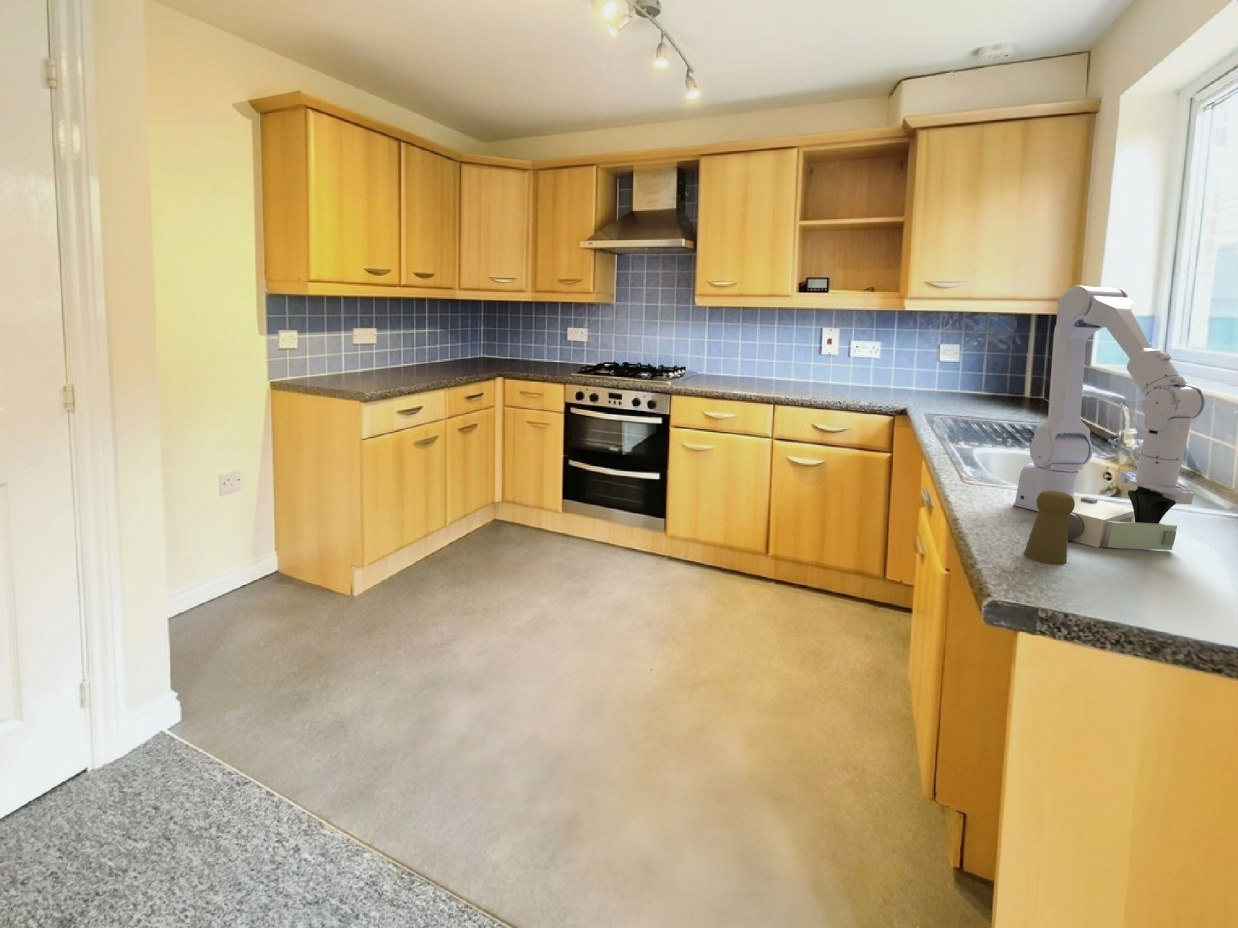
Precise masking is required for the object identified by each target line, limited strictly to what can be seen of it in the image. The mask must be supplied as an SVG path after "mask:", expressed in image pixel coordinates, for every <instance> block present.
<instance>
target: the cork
mask: <svg viewBox="0 0 1238 928" xmlns="http://www.w3.org/2000/svg"><path fill="white" fill-rule="evenodd" d="M1074 506H1075V501H1074V499H1073V497H1072V496H1071V495H1069V494H1066V493H1063V492H1058V491H1044V492H1041V493H1040V494H1039V495H1038V497H1037V507H1038V509H1039V512H1038V511H1037V515H1036V518H1035V521H1034V523H1033V525H1032V529H1031V532H1030V535H1029V537H1028V541H1027V543H1026V546H1025V549H1024V552H1023V555H1024V556H1025V557H1026V558H1028V559H1030V560H1033V561H1035V562H1040V563H1045V564H1049V565H1064V564H1067V561H1068V560H1067V559H1068V540H1067V538H1068V515H1069V514H1070V513H1071V512H1072V511H1073V509H1074Z"/></svg>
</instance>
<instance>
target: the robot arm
mask: <svg viewBox="0 0 1238 928" xmlns="http://www.w3.org/2000/svg"><path fill="white" fill-rule="evenodd" d="M1057 300H1058V301H1057V309H1056V324H1055V326H1054V332H1053V339H1052V355H1051V357H1052V358H1051V370H1050V373H1051V374H1050V384H1049V385H1050V386H1049V398H1048V399H1049V401H1048V413H1047V414H1048V415H1047V419H1046V420H1044V421H1043V422H1042V423H1041V424H1039V425H1038V426H1036V427H1035V428H1034V435H1033V439H1032V440H1031V443H1030V445H1029V455H1030V458H1031V460H1032V462H1029V463H1027V464H1025V465H1024V466H1023V467H1022V470H1021V472H1020V475H1019V477H1018V484H1017V489H1016V493H1015V494H1016V495H1015V501H1014V502H1013V503H1012V505H1013V506H1015V507H1018V508H1022V509H1026V510H1031V511H1034V512H1037V513H1038V512H1039V509H1038V507H1037V497H1038V495H1039V494H1040V493H1041V492H1044V491H1058V492H1063V493H1066V494H1069V495H1071V496H1072V497H1075V491H1076V485H1077V481H1078V476H1079V471H1081V470H1082V471H1083V467H1084V466H1085V465H1087V464H1088V463H1089V462H1090V461H1091V459H1092V456H1093V452H1094V448H1093V444H1092V441H1091V429H1090V428H1089V427H1088V426H1087V425H1086V423H1084V422H1083V421H1082V419H1081V417H1082V407H1083V406H1082V404H1083V391H1084V375H1085V364H1086V349H1087V348H1086V347H1087V340H1088V339H1089V338H1090V337H1091V336H1092V335H1093V334H1095V333H1096V332H1098V331H1100V330H1102V329H1104V328H1105V329H1106V330H1107V331H1108V332H1109V333H1110V335H1111V336H1112V337H1113V339H1114V340H1115V341H1116V342H1117V344H1118V345H1119V346H1120V348H1121V350H1122V351H1123V352H1124V353H1125V355H1126V356H1127V357H1128V358H1129V360H1128V362H1127V364H1126V370H1127V372H1128V373H1129V375H1130V376H1131V378H1132V379H1133V382H1135V384H1136V386H1137V387H1138V389H1139V391H1140V392H1141V394H1142V395H1143V397H1144V399H1142V400H1141V410H1142V412H1143V415H1144V423H1143V425H1144V428H1145V430H1144V431H1145V432H1144V436H1143V441H1142V445H1141V450H1140V454H1139V458H1138V463H1137V464H1138V465H1137V468H1136V472H1134V471H1121V472H1120V476H1119V480H1118V482H1119V483H1122V484H1127V485H1130V486H1134V487H1135V488H1136V489H1133V490H1131V489H1130V490H1128V491H1127V496H1128V497H1129V499H1130V502H1131V506H1132V508H1133V510H1134V516H1135V522H1138V523H1159V524H1160V522H1161V520H1162V519H1163V518H1164V517H1165V515H1166V514H1167V513H1168V511H1169V510H1171V509H1172V508H1173V507H1174V506H1175V505H1176V504H1178V505H1192V503H1193V499H1194V496H1195V495H1194V494H1195V493H1194V492H1193V491H1189V490H1188V489H1186V488H1184V487H1182V486H1181V485H1179V484H1178V480H1179V476H1180V471H1181V467H1182V462H1183V458H1184V455H1185V449H1186V445H1187V441H1188V436H1189V432H1190V428H1191V423H1192V420H1194V419H1196V418H1197V417H1199V416H1200V415H1201V414H1202V412H1203V410H1204V408H1205V396H1204V395H1203V392H1202V390H1201V388H1200V387H1197V386H1195V385H1190V384H1189V383H1188V382H1187V381H1185V379H1184V377H1183V376H1181V374H1179V372H1178V371H1177V369H1176V368H1175V366H1174V364H1173V363H1172V362H1171V361H1170V360H1171V359H1172V356H1171V355H1170V354H1169V352H1165V351H1163V350H1162V349H1156V348H1155V349H1153V348H1152V346H1151V344H1150V343H1149V340H1148V338H1147V337H1146V335H1145V333H1144V331H1143V330H1142V328H1141V325H1140V324H1139V322H1138V320H1137V319H1136V317H1135V314H1134V313H1133V311H1132V309H1133V305H1134V301H1133V300H1132V299H1131V298H1130V297H1129V294H1128V293H1127V292H1126V290H1125V289H1123V288H1121V287H1097V286H1095V287H1094V286H1084V285H1074V286H1071V287H1070V288H1069V289H1068V290H1066V291H1065V293H1063V295H1062V296H1061V297H1060V298H1059V299H1057ZM1060 434H1061V435H1060Z"/></svg>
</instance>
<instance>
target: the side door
mask: <svg viewBox="0 0 1238 928" xmlns="http://www.w3.org/2000/svg"><path fill="white" fill-rule="evenodd" d="M1177 529H1178V525H1177V524H1174V523H1160V522H1159V523H1138V522H1117V521H1107V523H1106V528H1105V533H1104V537H1103V542H1102V547H1103V548H1117V549H1139V550H1159V551H1160V550H1162V551H1172V550H1173V546H1174V544H1175V540H1176V535H1177Z"/></svg>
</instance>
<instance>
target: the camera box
mask: <svg viewBox="0 0 1238 928" xmlns="http://www.w3.org/2000/svg"><path fill="white" fill-rule="evenodd" d="M1073 499H1074V501H1075V506H1074V509H1073V511H1072V512H1071V513H1070V514H1069V515H1068V538H1067V541H1073V542H1077V543H1079V544H1083V545H1087V546H1091V547H1093V548H1094V547H1095V548H1101V547H1103V546H1102V542H1103V537H1104V533H1105V528H1106V523H1107V521H1117V522H1135V516H1134V510H1133V507H1129V506H1125V505H1121V504H1116V503H1112V502H1108V501H1103V500H1101V499H1100V500H1099V499H1098V498H1094V497H1089V496H1082V495H1077V496H1074V497H1073Z"/></svg>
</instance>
